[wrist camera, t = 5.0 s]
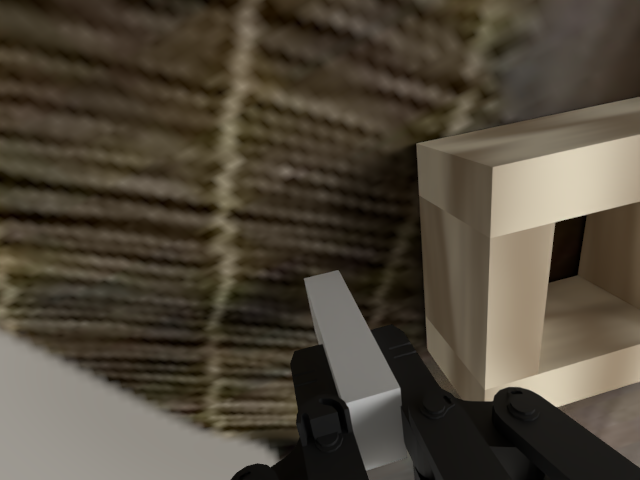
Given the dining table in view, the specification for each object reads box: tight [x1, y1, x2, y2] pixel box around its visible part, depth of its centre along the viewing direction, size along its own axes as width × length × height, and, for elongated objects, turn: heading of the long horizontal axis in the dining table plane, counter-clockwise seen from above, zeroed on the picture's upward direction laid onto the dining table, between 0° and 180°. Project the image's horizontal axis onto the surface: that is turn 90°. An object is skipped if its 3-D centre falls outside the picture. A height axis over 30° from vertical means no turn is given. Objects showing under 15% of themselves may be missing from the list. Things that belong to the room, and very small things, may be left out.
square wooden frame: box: [416, 97, 640, 407], centre depth 15 cm, size 11×11×5 cm
